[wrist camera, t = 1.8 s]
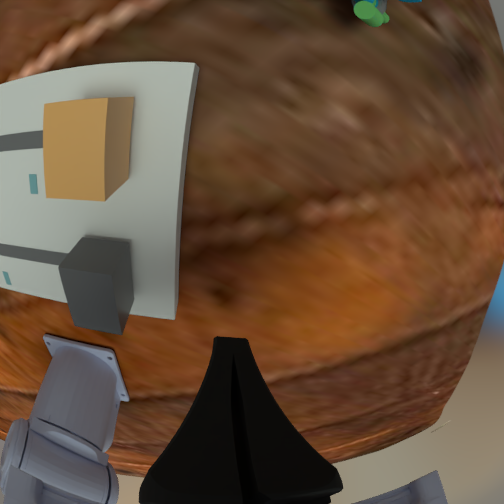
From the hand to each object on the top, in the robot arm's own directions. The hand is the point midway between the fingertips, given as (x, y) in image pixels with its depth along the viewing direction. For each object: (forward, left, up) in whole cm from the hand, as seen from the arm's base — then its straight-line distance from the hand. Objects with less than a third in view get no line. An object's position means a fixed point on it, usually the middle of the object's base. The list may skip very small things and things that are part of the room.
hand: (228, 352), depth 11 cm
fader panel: (+4, +14, -7) cm, 16 cm away
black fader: (0, +7, -5) cm, 9 cm away
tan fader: (+7, +7, -5) cm, 11 cm away
